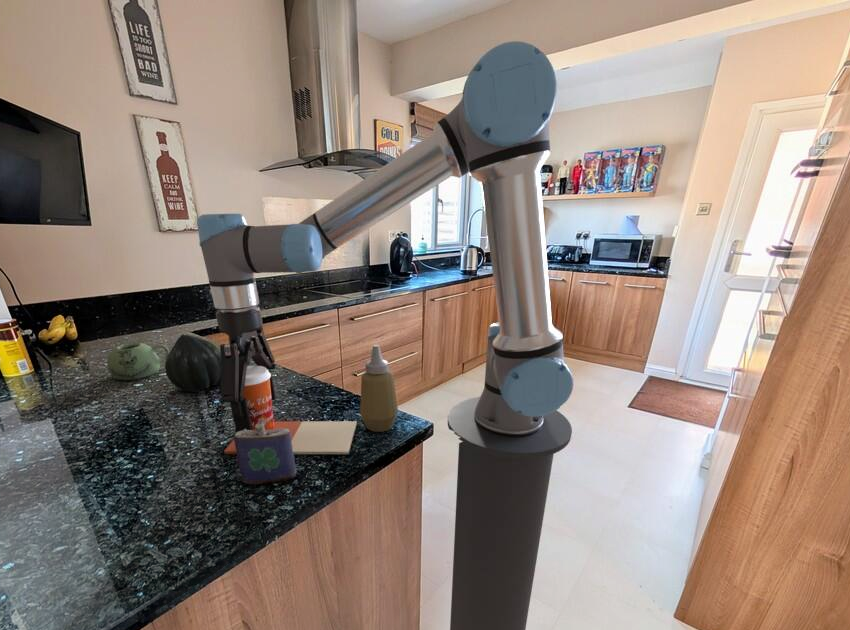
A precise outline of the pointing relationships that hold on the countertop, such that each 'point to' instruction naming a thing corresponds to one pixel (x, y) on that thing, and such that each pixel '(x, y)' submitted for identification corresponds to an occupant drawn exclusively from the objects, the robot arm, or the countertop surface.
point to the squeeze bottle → (378, 394)
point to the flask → (265, 454)
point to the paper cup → (259, 396)
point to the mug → (134, 361)
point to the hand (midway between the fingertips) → (258, 414)
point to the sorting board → (315, 436)
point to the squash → (194, 364)
